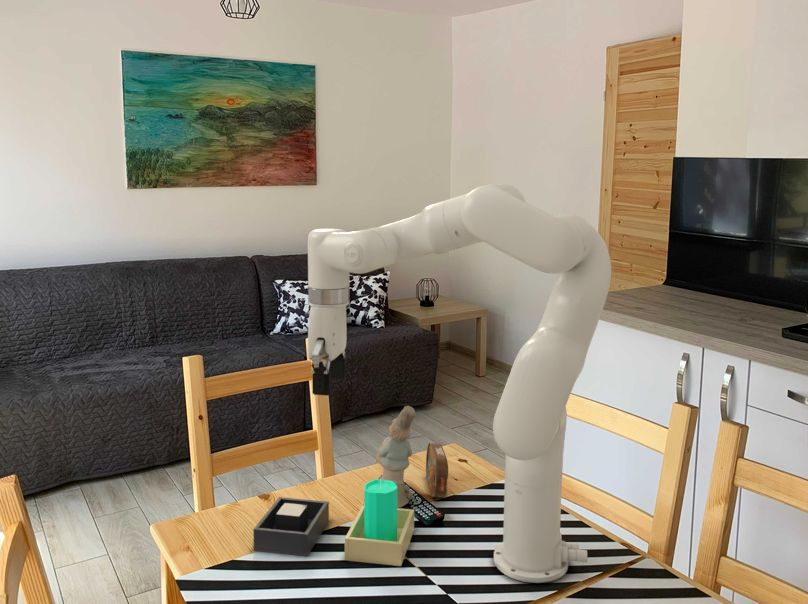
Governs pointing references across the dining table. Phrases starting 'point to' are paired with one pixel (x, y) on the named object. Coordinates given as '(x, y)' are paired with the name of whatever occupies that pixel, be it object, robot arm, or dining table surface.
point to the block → (292, 517)
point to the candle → (380, 510)
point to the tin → (436, 470)
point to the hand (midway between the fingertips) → (329, 386)
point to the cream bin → (379, 541)
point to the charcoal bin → (291, 540)
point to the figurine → (397, 454)
